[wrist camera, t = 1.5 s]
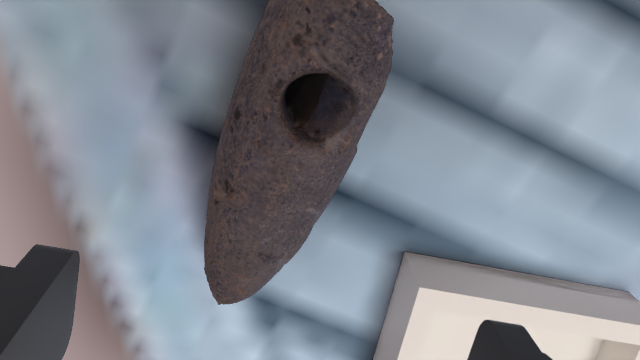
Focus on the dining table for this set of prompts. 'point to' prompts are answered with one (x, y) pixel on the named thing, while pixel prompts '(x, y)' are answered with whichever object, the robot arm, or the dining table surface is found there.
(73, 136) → the dining table surface
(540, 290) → the tray
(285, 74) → the perforated stone tool
